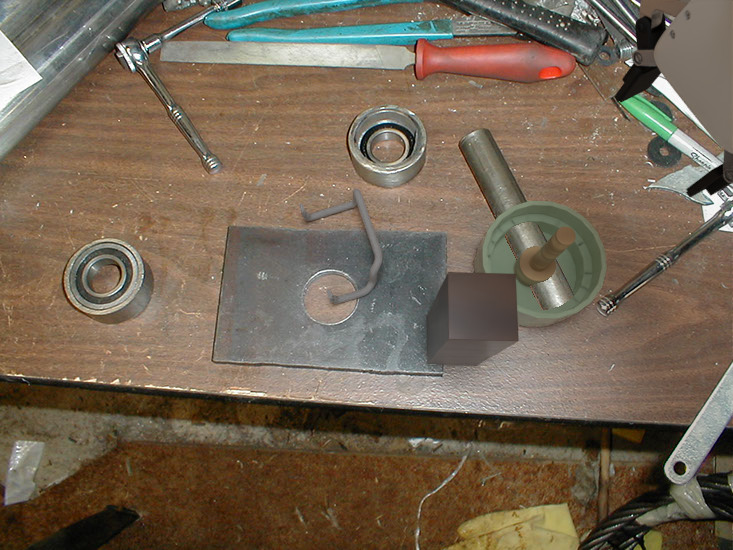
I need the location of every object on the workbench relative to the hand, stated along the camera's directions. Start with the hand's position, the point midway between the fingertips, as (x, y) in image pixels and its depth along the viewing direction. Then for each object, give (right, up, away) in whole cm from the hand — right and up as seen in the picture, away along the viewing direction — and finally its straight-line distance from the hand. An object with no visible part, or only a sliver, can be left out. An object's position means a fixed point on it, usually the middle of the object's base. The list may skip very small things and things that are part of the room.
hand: (665, 138), depth 45 cm
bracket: (-28, -8, +26) cm, 39 cm away
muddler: (-4, -11, +24) cm, 26 cm away
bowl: (-4, -11, +24) cm, 27 cm away
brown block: (-14, -19, +22) cm, 32 cm away
